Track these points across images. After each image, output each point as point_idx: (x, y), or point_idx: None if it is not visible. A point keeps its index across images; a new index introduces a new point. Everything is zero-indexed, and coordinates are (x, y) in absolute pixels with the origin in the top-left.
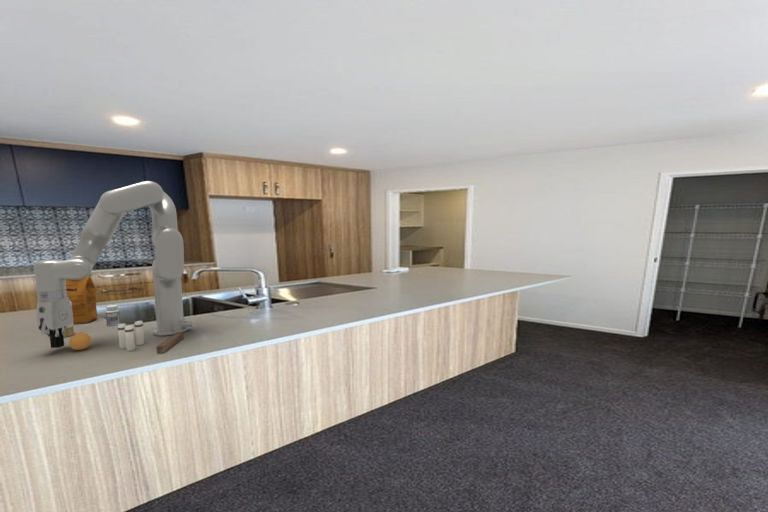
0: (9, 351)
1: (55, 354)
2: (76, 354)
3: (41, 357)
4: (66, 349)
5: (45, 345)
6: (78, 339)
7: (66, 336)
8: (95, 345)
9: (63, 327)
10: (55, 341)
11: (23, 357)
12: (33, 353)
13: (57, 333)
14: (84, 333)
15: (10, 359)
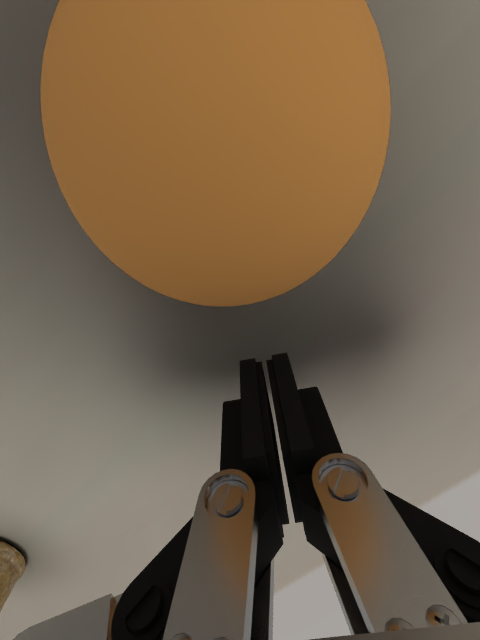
0: (284, 579)
1: (364, 303)
2: (400, 34)
3: (427, 350)
4: (233, 325)
5: (173, 520)
6: (370, 18)
7: (4, 543)
8: None
9: (202, 618)
10: (328, 422)
11: (399, 458)
12: None
13: (357, 508)
14: (147, 6)
15: (424, 490)
